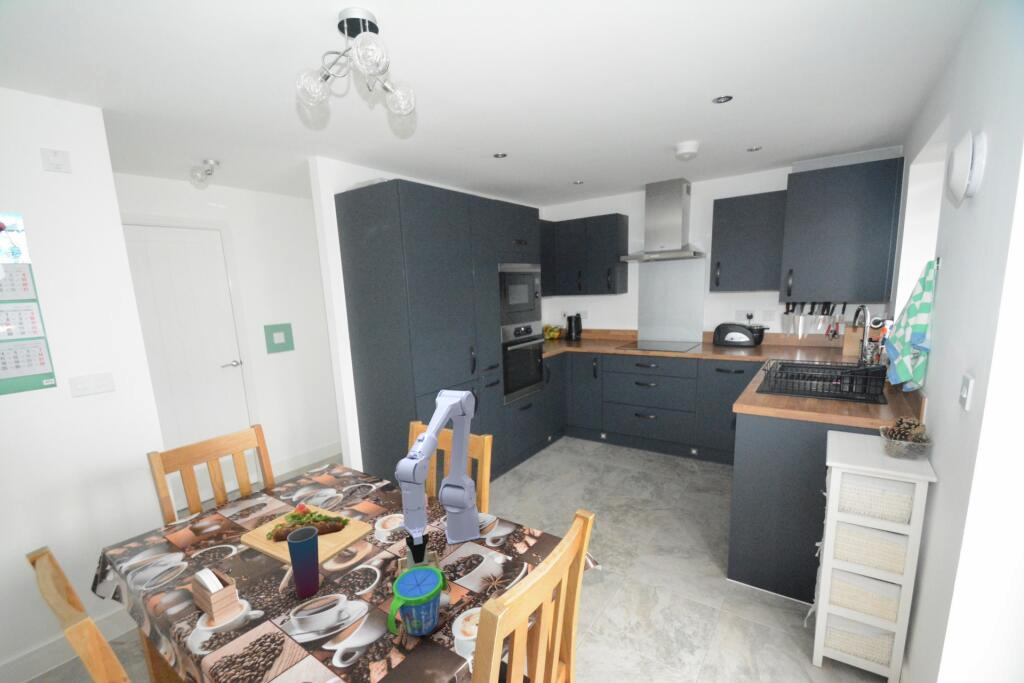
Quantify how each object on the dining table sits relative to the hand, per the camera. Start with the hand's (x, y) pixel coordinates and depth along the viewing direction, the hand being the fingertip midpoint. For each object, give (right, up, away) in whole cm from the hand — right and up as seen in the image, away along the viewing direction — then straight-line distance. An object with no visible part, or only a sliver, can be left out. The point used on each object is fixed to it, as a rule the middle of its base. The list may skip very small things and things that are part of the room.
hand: (418, 555), depth 106 cm
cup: (-27, -8, -2) cm, 28 cm away
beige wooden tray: (0, -6, +1) cm, 6 cm away
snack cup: (+4, -8, -15) cm, 17 cm away
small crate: (0, -2, 0) cm, 2 cm away
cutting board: (-40, -6, +23) cm, 46 cm away
